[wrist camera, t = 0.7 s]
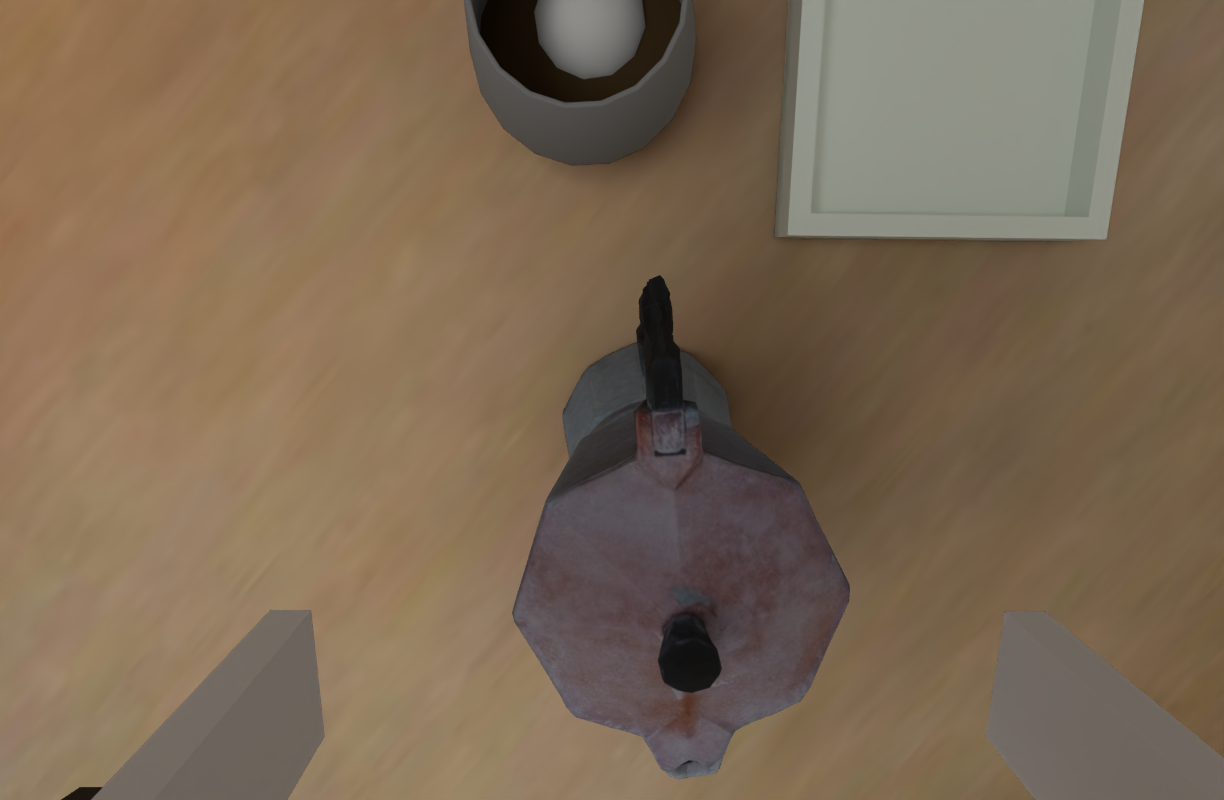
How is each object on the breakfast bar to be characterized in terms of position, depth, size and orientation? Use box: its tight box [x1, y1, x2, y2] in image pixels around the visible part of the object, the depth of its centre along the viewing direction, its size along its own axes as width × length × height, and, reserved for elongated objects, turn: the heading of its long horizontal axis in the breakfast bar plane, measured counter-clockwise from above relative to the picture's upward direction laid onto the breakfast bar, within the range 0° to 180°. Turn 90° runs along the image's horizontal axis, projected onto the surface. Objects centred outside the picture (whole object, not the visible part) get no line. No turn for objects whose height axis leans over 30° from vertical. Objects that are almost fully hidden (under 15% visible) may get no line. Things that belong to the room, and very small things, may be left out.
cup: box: [464, 0, 696, 165], centre depth 26 cm, size 10×9×10 cm
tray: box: [774, 0, 1144, 241], centre depth 30 cm, size 15×15×2 cm
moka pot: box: [512, 275, 850, 779], centre depth 25 cm, size 10×15×20 cm, turn 9°
